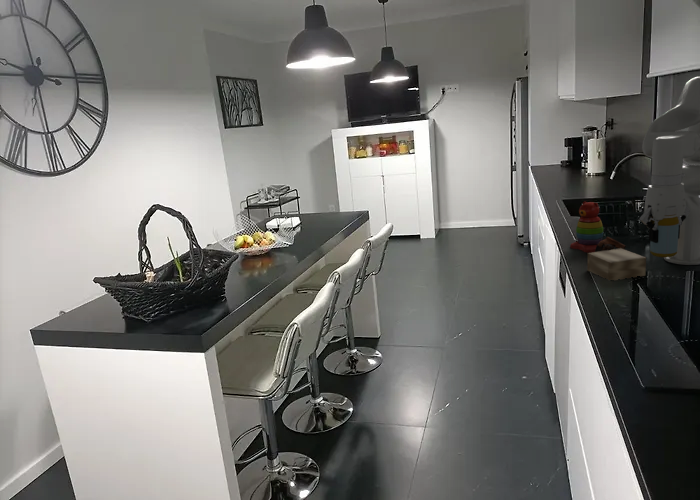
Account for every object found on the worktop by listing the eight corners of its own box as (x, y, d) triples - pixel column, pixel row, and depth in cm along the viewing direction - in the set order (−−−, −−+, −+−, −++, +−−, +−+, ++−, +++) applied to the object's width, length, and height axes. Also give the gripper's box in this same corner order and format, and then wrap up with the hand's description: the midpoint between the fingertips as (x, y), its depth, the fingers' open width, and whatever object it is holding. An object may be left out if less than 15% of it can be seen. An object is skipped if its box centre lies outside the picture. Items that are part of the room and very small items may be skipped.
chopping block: (620, 265, 177) (621, 248, 176) (645, 275, 166) (646, 257, 164) (587, 270, 176) (587, 253, 174) (610, 281, 164) (610, 262, 163)
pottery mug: (592, 254, 194) (605, 234, 192) (617, 267, 190) (630, 247, 188) (589, 254, 184) (602, 234, 182) (615, 268, 180) (628, 247, 178)
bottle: (680, 257, 153) (683, 207, 148) (654, 258, 154) (656, 209, 150) (671, 249, 159) (674, 201, 155) (646, 251, 161) (648, 203, 156)
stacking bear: (567, 247, 203) (567, 202, 199) (588, 243, 206) (588, 198, 202) (589, 253, 193) (589, 206, 189) (610, 248, 197) (611, 201, 192)
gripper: (683, 173, 155) (680, 231, 160) (630, 182, 153) (628, 241, 158) (704, 176, 148) (700, 237, 153) (648, 186, 146) (646, 248, 151)
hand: (664, 239), depth 155 cm, fingers closed on bottle, 6 cm apart
